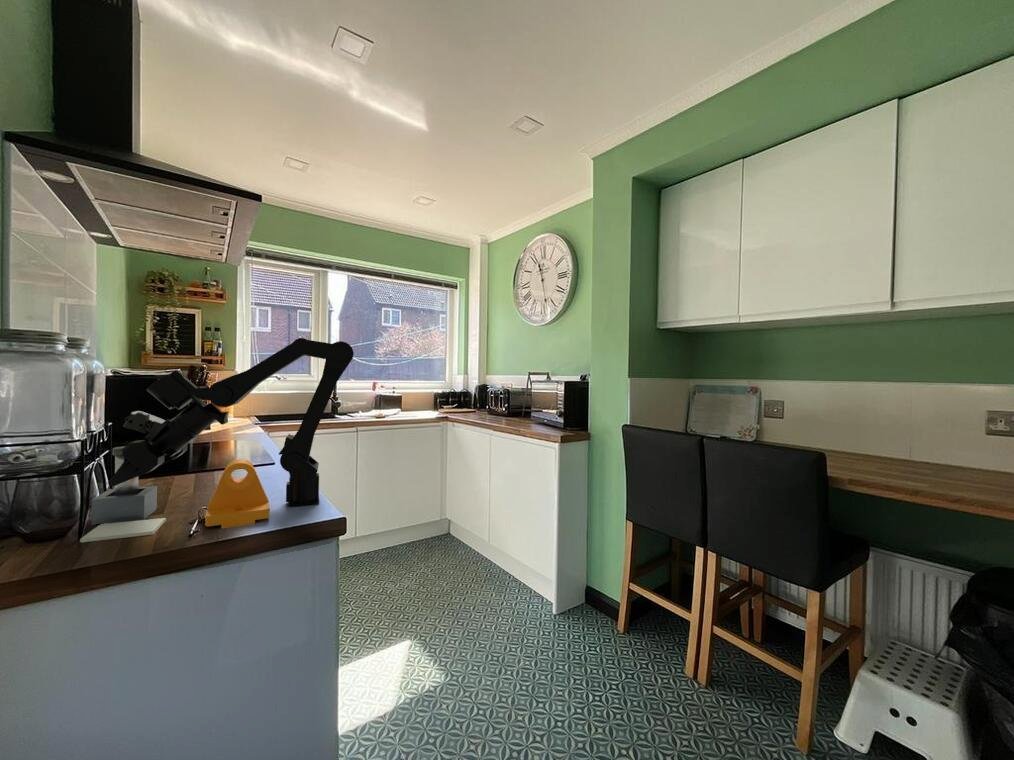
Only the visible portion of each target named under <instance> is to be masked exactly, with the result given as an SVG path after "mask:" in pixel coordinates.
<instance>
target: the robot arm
mask: <svg viewBox="0 0 1014 760" xmlns="http://www.w3.org/2000/svg"><path fill="white" fill-rule="evenodd" d="M354 353H355V352H354V350H353V346H351V345H350V344H349V343H348V342H345V341H339V340H338V341H336V342H333V343H330V342H323V341H317V340H311V339H307V338H305V337H304V338H303V337H299V338H296V339H294V341H292V342H291V343H290V344H289V345H287V346H285V347H283V348H282V349H280V350H278V351H277V352H275V353H273V354H272V355H270V356H268V357H267V358H265V359H263V360H261V361H260V362H258V363H257V364H256V365H254V366H252V367H250V368H249V369H247V370H244V371H241V372H240V373H239V372H238V373H237V374H234V375H231V376H228V377H226V378H224V379H223V378H222V379H221V380H218V381H216V382H214V383H212V384H211V386H209V387H207V386H206V385H205V386H197V385H195V383H193V382H192V380H190V379H188V377H187V376H186V375H185V374H184V372H182V371H181V370H179V369H174V370H173V371H172V372H170V373H167V374H166V375H164V376H163V377H161V378H158V379H156V380H155V381H153V382H152V383H151V384H150V385H149V386H148V387H147V388H146V392H148V393H149V394H150V395H151V396H153V397H154V398H155V399H156V400H157V401H159V402H160V403H161V404H162V405H164V406H165V407H166V409H168V410H172V409H177V410H179V411H180V410H181V409H183V408H184V407H186V406H187V405H188V404H189V406H187V407H186V408H184V409H183V410H182V411H180V413H178V414H177V415H176V416H174V417H173V418H170V419H166V420H165V419H163V418H161V417H158V416H156V415H153V414H151V413H147V412H144V411H141V410H135V411H132V412H130V414H129V415H128V416H126V417H124V421H125V422H124V424H123V425H122V427H124V428H125V429H128V430H134V431H136V432H138V433H142V434H144V435H145V436H144V438H145V439H143V440H142V439H140V440H139V439H137V440H134V441H132V442H129V443H128V444H127V445H125V447H124V446H123V447H124V448H123V449H122V450H121V451H122V455H123V457H124V462H123V463H122V465H121V466H120V468H119V469H118V470H117V472H116V473H115V472H114V474H113V475H112V477H111V478H109V479H110V480H109V481H108V485H110V486H111V487H115V485H118V484H120V483H123V482H125V481H128V480H130V479H133V478H135V477H138V478H139V477H140V476H143V475H146V474H149V473H150V472H152V471H154V470H155V469H157V468H158V467H159V466H161V465H164V464H166V463H169V462H171V461H174V460H175V459H177V458H179V457H180V456H182V455H183V454H184V453H185V452H187V451H188V444H189V443H190V442H192V441H194V440H195V439H198V437H199V435H200V434H201V433H203V432H204V431H205V430H206V429H207V428H209V426H211V425H212V424H213V423H215V422H218V423H219V424H220V425H222V426H223V425H225V424H227V423H229V419H228V416H229V411H222V410H221V409H219V408H218V407H220V408H228V407H231V406H234V405H237V404H240V402H242V401H243V400H244V399H245V398H246V397H247V396H248V395H249V394H251V393H252V391H254V389H256V387H257V386H259V385H260V384H261V383H262V382H264V381H266V380H267V379H269V378H271V377H272V376H274V375H275V374H277V373H279V372H280V371H282V370H283V369H285V368H287V367H288V366H290V365H291V364H293V363H294V362H297V361H298V360H299V359H301V358H303V357H312V358H318V359H323V360H325V361H324V362H325V363H324V365H323V369H322V370H323V372H322V376H321V378H320V380H319V383H318V385H317V387H316V389H315V391H314V394H313V396H312V398H311V401H310V403H309V405H308V408H307V410H306V412H305V415H304V417H303V419H302V421H301V424H300V425H299V428H298V430H297V431H296V433H295V435H292V434H290V433H288V434H287V436H286V437H285V441H284V443H283V447H282V448H281V449H280V450H279V452H278V455H279V456H280V459H279V463H280V466H281V468H282V469H283V470H284V471H286V472H288V473H289V478H288V479H289V481H287V482H286V488H285V489H286V491H285V502H286V503H287V506H288V507H296V506H306V505H307V506H309V505H315V504H317V505H318V504H320V473H319V472H318V469H319V461H317V460H316V459H315V458H313V457H312V456H311V451H312V448H313V442H314V437H315V434H316V431H317V429H318V427H319V425H320V422H321V420H322V417H323V414H324V413H325V410H326V409H327V406H328V404H329V401H330V399H331V397H332V394H333V392H334V390H335V388H336V385H337V383H338V381H339V379H340V378H341V377H342V375H343V373H344V372H345V371H346V369H347V368H348V366H349V365H350V364H351V362H352V360H353V358H354V355H355V354H354ZM203 400H205V401H210V403H207V402H205V401H203ZM191 402H192V403H191ZM190 403H191V404H190Z"/></svg>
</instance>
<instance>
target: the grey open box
mask: <svg viewBox="0 0 1014 760" xmlns="http://www.w3.org/2000/svg"><path fill="white" fill-rule="evenodd" d="M114 494H115V488H109V489H107V490H105V491H104V492H102V493H100V494H98V495H97V496H95V497H93V498H92V499H91V515H90V516H91V517H90V518H91V519H90V522H91V523H90V524H91V525H90V526H96V524H104V523H118V522H128V521H139V520H147V518H149V517H150V516H151V515H152V514H153V513H154V512H155V511H156V510H157V509H158V507H157V506H158V503H157V502H158V485H151V486H138V494H134V495H121V496H114Z"/></svg>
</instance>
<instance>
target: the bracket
mask: <svg viewBox="0 0 1014 760" xmlns="http://www.w3.org/2000/svg"><path fill="white" fill-rule="evenodd" d="M240 469H242V470H245V471H246V472H247V474H246V475H245V476H244V477H243V478H234V477H233V476H232V473H233V472H235V471H236V470H240ZM270 509H271V506H270V503H269V498H268V496H267V494H266V492H265V489H264V488H263V485H262V483H261V480H260V478H259V476H258V474H257V471H256V469H255V467H254V464H253V463H252V462H251V461H250V460H247V459H244V458H238V459H233V460H232V461H230V462H229V463H228V464H227V465H226V466H225V468H224V470H223V473H222V474H221V476H220V479H219V481H218V484H217V486H216V488H215V490H214V492H213V494H212V496H211V499H210V501H209V503H208V505H207V508H206V513H205V518H204V519H205V520H204V521H205V522H204V523H205V527H214V526H220V527H221V529H227V528H228V529H229V528H234V527H235V528H236V527H242V526H247V525H255V524H256V520H264V519H268V518H270V513H271V512H270V511H271V510H270Z"/></svg>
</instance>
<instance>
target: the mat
mask: <svg viewBox="0 0 1014 760" xmlns="http://www.w3.org/2000/svg"><path fill="white" fill-rule="evenodd" d="M166 521H167V518H166V517H161V518H159V517H158V518H150V519H145V520H139V521H128V522H118V523H108V524H100V525H97V526H96V527H94V528H93V529H92V530H91V531H89V532H87V534H85V535H84V536H83V537H81V538H80V539H79V543H87V542H98V541H106V540H115V539H116V540H117V539H123V538H125V539H126V538H133V537H141V536H142V537H143V536H151V535H154V534H155V533H156V532H157V531H158V530H159V528H161V527H162V526H163V525H164V524H165V522H166Z"/></svg>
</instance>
